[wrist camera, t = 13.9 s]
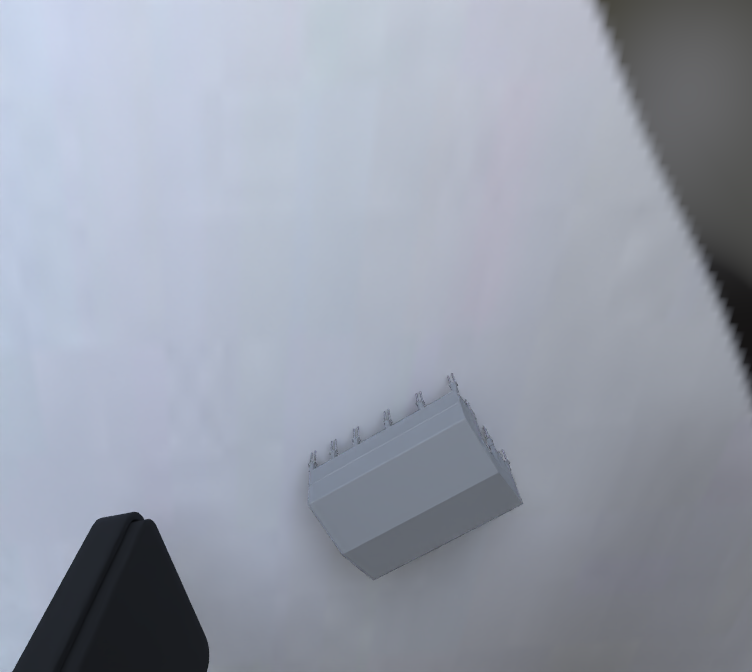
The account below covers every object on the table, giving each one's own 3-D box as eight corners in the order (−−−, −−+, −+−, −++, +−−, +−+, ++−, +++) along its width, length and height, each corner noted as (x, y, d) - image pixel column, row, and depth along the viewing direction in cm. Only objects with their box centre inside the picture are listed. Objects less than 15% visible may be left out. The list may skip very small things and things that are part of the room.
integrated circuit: (516, 443, 12) (543, 504, 10) (381, 535, 12) (387, 605, 11) (438, 355, 11) (454, 408, 9) (298, 460, 12) (292, 524, 10)
